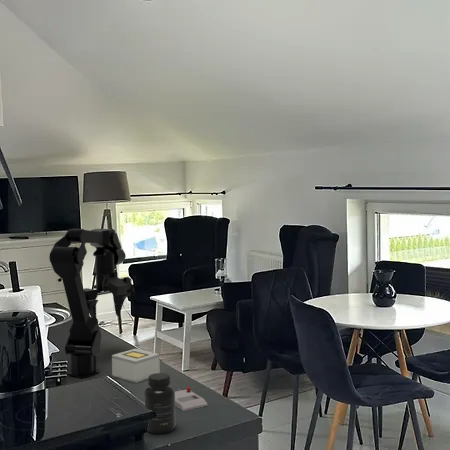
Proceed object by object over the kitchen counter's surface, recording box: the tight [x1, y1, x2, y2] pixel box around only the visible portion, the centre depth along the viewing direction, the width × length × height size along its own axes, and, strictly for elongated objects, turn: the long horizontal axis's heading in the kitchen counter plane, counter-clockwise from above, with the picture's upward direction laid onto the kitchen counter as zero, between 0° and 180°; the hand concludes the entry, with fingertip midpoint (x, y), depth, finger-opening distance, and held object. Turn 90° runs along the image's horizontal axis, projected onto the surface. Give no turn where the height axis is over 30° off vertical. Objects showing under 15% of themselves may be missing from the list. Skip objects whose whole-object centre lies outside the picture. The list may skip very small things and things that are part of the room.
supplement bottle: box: [143, 372, 176, 435], centre depth 138 cm, size 7×7×12 cm
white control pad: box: [175, 386, 209, 412], centre depth 155 cm, size 7×16×3 cm, turn 31°
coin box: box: [111, 348, 161, 384], centre depth 176 cm, size 9×10×6 cm
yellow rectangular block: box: [126, 352, 146, 359], centre depth 176 cm, size 3×5×6 cm, turn 53°
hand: (106, 318), depth 194 cm, fingers open, 9 cm apart
